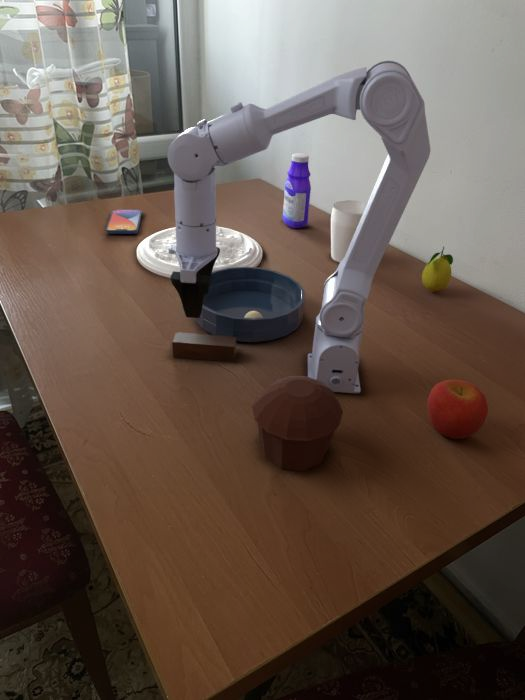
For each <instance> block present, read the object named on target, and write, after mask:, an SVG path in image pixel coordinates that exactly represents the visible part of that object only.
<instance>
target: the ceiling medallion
mask: <svg viewBox="0 0 525 700" xmlns="http://www.w3.org/2000/svg"><path fill="white" fill-rule="evenodd" d="M172 244H176V226H175V227H169V228H167V229H163V230H160V231H157V232H155V233H153V234H151V235H149V236H147V237H145V238H144V239H143V240H142V241H141V242H140V243H139V244H138V246H137V247H136V259H137V262H138V263H139V264H140V265H141V266H142V267H143V268H144V269H146V270H148V271H149V272H152V273H153V274H156V275H158V276H160V277H161V276H162V277H164V278H168V279H171V275H172V272H173V271H175V272H180V269H181V267H180V264H179V262H178V259H177V257H176V255H175V254H170V253H169V251H168V248H169V246H170V245H172ZM216 247H218V248H220V253H219V256H218V257H217V259H216V261H215V264H214V266H213V270H212V272H213V271H216V270H221V269H225V268H232V267H258V266H259V265H260V263H261V261H262V259H263V248H262V247H261V245H260V244H259V242H257V240H255V239H253V238H252V237H250V236H249V235H247V234H245V233H242V232H240V231H237V230H234V229H231V228H228V227H223V226H218V225H216Z"/></svg>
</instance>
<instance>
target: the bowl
mask: <svg viewBox="0 0 525 700" xmlns="http://www.w3.org/2000/svg"><path fill="white" fill-rule="evenodd" d="M211 277H212V278H211V281H210V286H209V290H208V293H207V294H205V295H204V300H203V307H202V312H201V315H200V318H193V319H194V322H195V323H196V324H197V325H198V326H199V327H200V328H201V329H202V330H203V331H205V332H206V333H210V335H218V336H231V337H237V338H236V342H242V343H243V342H244V343H245V342H246V343H258V342H268V341H269V342H270V341H273V340H276V339H280V338H283V337H286V336H287V335H289V334H291V333H292V332H294V331H296V330H297V329H298V328H299V326H300V325H301V323H302V322H303V319H304V309H305V300H306V295H305V294H306V292H305V289H304V288H303V286H302V285H301V284H300V282H298V281H297V280H296V279H294V278H293V277H291V276H290V275H288V274H286V273H282V272H280V271H278V270H272V269H269V268H265V267H258V266H256V267H232V268H225V269H221V270H216V271H213V272H212V275H211ZM250 311H257V312H259V313H260V314H261V315H262V316H263V318H244V317H245V315H246V314H247V313H248V312H250Z"/></svg>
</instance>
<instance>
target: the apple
mask: <svg viewBox="0 0 525 700" xmlns="http://www.w3.org/2000/svg"><path fill="white" fill-rule="evenodd" d="M427 411H428V412H427V413H428V419H429V423H430V424H431V427H432V428H433V429H434V430H435V431H436V432H437V433H439V435H442V436H443V437H446V438H448V439H456V440H460V439H466V438H469V437H471V436H472V435H474V434H477V432H479V430H480V429H481V428H482V426H483V425H484V424H485V422H486V419H487V417H488V413H489V406H488V402H487V399H486V396H485V395H484V393H483V392H482V391H481V390H480V389H479V387H478V386H476V385H474V384H473V383H471V382H469V381H466V380H463V379H445V380H442V381H440V382H438V383H436V384H435V385H434V386H433V388H432V389H431V390H430V392H429V395H428V397H427Z"/></svg>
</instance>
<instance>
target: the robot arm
mask: <svg viewBox="0 0 525 700" xmlns="http://www.w3.org/2000/svg"><path fill="white" fill-rule="evenodd" d="M229 109H230V112H227V113H225V114H222V115H221V116H218V117H216V118H214V119H212V120H209V121H208V120H207V119H206V118H204V119H202V120H200V121H198V122H197V124H196V125H197V126H193V127H189V128H188V129H186V130H184V132H182V133H180V134H179V135H178V136H177V137H176V138H174V139H173V141H172V142H171V144H170V145H169V147H168V149H167V162H168V165H169V167H170V169H171V171H172V172H173V177H174V179H173V180H174V188H173V191H174V192H173V195H174V220H175V227H176V244H172V245H170V246H169V248H168V251H169V253H170V254H175V255H176V257H177V259H178V262H179V264H180V267H181V269H180V272H175V271H173V272H172V275H171V278H170V282H171V285H172V286H173V287H174V288H175V289H174V290H176V292H177V294H178V296H179V298H180V302H181V305H182V309H183V312H184V316H185V317H186V318H191V319H194V318H200V315H201V312H202V307H203V300H204V295H205V294H207V293H208V290H209V286H210V281H211V278H212V277H211V275H212V270H213V266H214V264H215V261H216V259H217V257H218V256H219V253H220V248H218V247H216V226H217V186H216V168H215V167H225V166H228V165H231V164H233V163H235V162H238V161H240V160H243V159H246V158H248V157H250V156H252V155H255V154H258V153H260V152H263V151H265V150H267V149H268V148H269V146H270V143H271V140H272V138H273V136H275V135H277V134H280V133H282V132H285V131H288V130H291V129H294V128H296V127H299V126H302V125H305V124H307V123H311V122H313V121H315V120H319V119H321V118H325V117H327V116H329V115H336V116H339V117H341V118H345V119H349V120H352V121H356V120H357V110H359V111H360V113H361V115H362V118H363V119H364V120H365V122H366V123H367V124H368V125H369V126H370V127H371V128H372V129H373V130H374V131H375V132H376V133H377V134H378V135H379V136H380V137H381V140H382V143H383V145H384V148H385V149H386V152H387V156H386V158H385V160H384V162H383V165H382V167H381V170H380V172H379V174H378V176H377V179H376V182H375V184H374V186H373V189H372V191H371V193H370V196H369V198H368V201H367V203H366V204H367V205H366V208H365V210H364V212H363V215H362V217H361V219H360V222H359V224H358V227H357V229H356V231H355V234H354V236H353V238H352V241H351V243H350V245H349V248H348V250H347V253H346V255H345V257H344V259H343V260H342V261H341V262H340V263H338V265H337V268H336V270H335V271H334V273H332V274H331V275H330V276H328V278H326V280H325V281H324V284H323V287H322V294H323V295H322V301H321V302H322V303H321V308H320V311H319V313H318V314H317V316H316V318H315V326H314V333H313V342H312V349H311V352H310V353H308V354H307V377H310V378H313V379H316V380H319V381H321V382H323V383H324V384H325V385H326V386H327V387H329V388H330V389H331V390H332V391H333V392H334V393H346V394H361V391H362V390H361V382H360V376H359V375H360V374H359V365H360V349H361V344H362V338H363V332H364V328H365V306H366V303H367V301H368V300H369V299H368V298H369V296H370V291H371V287H372V284H373V283H372V282H373V279H374V276H375V274H376V272H377V270H378V268H379V265H380V263H381V261H382V259H383V257H384V254H385V253H386V250H387V249H388V246H389V244H390V242H391V239H392V237H393V236H394V233H395V232H396V229H397V227H398V225H399V222H400V221H401V218H402V216H403V214H404V212H405V210H406V208H407V206H408V204H409V201H410V199H411V197H412V195H413V193H414V191H415V188H416V187H417V185H418V182H419V179H420V178H421V175H422V173H423V172H424V170H425V167H426V165H427V163H428V160H429V159H430V154H431V143H430V137H429V130H428V123H427V116H426V115H427V114H426V105H425V101H424V98H423V96H422V95H421V93H420V91H419V89H418V87H417V86H416V84H415V82H414V80H413V78H412V77H411V74H410V73H409V71H408V69H407V68H406V67H405V66H404V65H402V64H401V63H400V62H397V61H395V60H382V61H378V62H377V63H375V64H373V65H372V66H371V67H370V68H368V70H367V66H364V67H361V68H356V69H353V70H351V71H348V72H343V73H341V74H338V75H336V76H333V77H331V78H329V79H327V80H325V81H323V82H320V83H317V84H316V85H314V86H312V87H310V88H307V89H306V90H304V91H301V92H299V93H297V94H295V95H292V96H291V97H289V98H286V99H284V100H281V101H280V102H278V103H276V104H273V105H272V106H269V107H266V108H262V107H260V106H258V105H256V104H253V103H247V104H246V105H243V103H242V102H240V101H239V102H237V103H234V104H233V105H232V106H230V108H229Z"/></svg>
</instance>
